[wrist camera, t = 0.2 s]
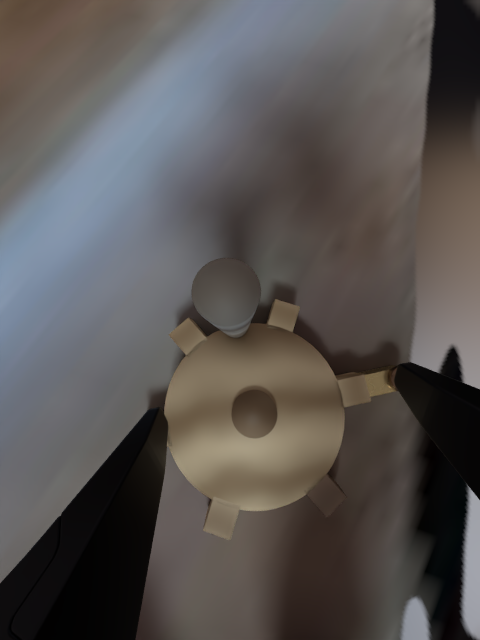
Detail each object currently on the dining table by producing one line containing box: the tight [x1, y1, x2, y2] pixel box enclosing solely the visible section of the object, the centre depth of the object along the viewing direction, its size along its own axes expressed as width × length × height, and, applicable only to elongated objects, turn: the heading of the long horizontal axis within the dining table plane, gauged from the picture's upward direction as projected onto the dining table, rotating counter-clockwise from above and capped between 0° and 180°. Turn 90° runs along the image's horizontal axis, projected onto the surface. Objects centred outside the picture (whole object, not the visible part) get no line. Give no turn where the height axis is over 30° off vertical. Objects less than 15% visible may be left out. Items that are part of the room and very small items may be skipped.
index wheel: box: [164, 258, 371, 540], centre depth 14 cm, size 19×21×15 cm
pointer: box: [358, 365, 399, 397], centre depth 21 cm, size 5×2×2 cm, turn 102°
